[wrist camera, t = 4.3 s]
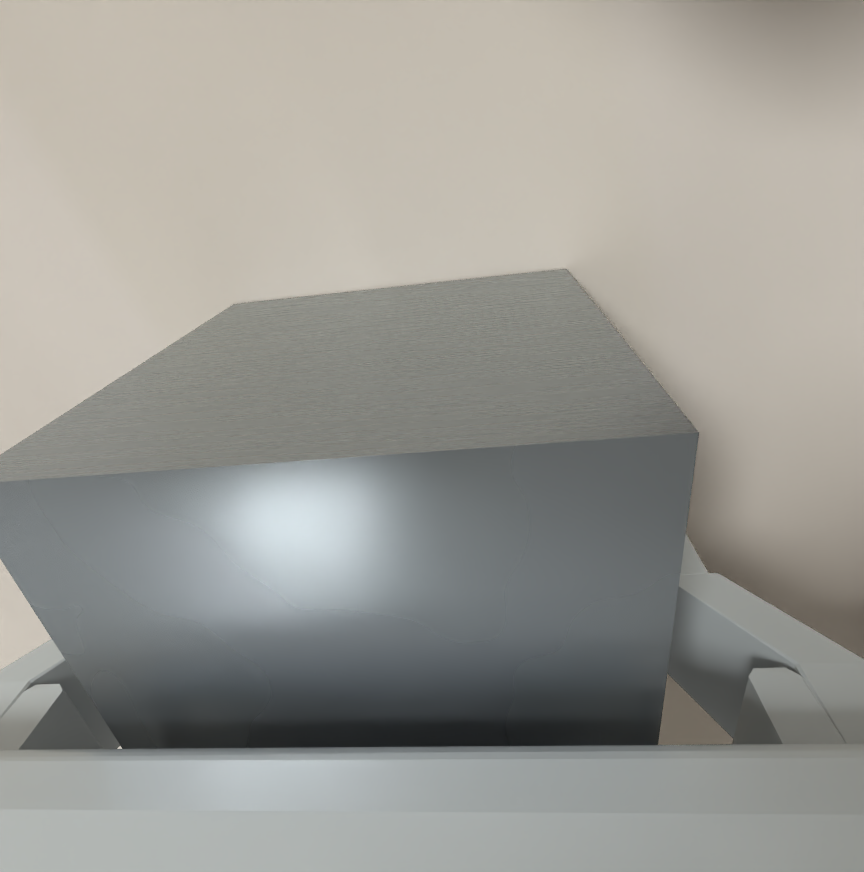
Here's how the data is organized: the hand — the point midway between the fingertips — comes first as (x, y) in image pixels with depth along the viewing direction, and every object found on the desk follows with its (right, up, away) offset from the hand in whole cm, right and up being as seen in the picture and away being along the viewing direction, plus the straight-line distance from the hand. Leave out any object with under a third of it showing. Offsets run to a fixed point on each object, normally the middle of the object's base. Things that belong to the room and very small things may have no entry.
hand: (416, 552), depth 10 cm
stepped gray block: (0, +1, +2) cm, 2 cm away
